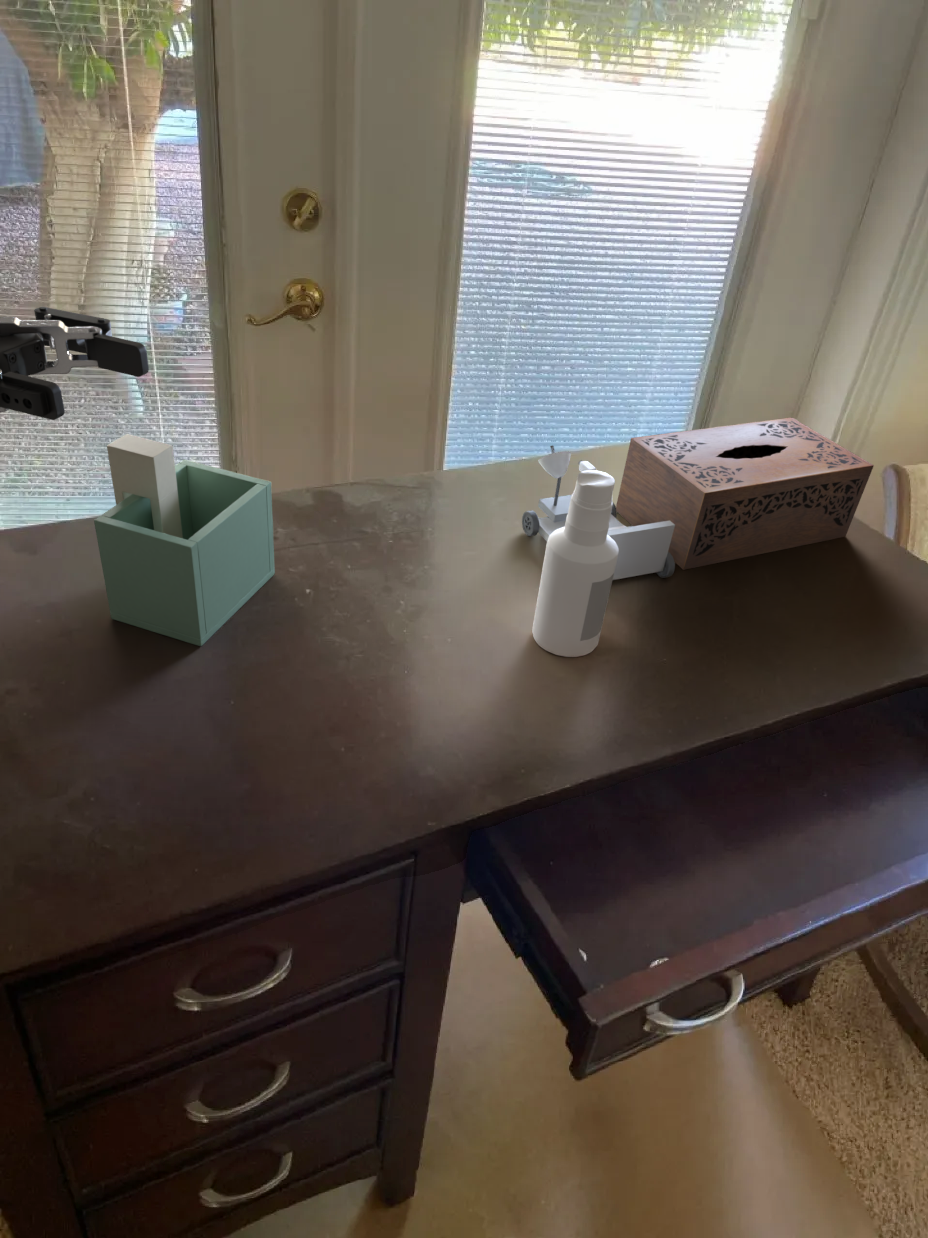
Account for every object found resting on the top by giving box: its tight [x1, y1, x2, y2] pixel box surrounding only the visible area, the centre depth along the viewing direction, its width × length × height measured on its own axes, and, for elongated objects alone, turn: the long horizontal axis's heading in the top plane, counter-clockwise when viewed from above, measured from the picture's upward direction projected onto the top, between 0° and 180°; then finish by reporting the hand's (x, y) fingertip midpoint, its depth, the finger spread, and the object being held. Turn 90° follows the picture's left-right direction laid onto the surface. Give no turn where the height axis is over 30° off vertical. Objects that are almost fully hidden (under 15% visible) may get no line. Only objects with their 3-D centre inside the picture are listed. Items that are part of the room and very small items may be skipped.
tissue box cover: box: [615, 416, 875, 571], centre depth 110 cm, size 26×14×10 cm, turn 115°
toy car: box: [521, 444, 676, 581], centre depth 102 cm, size 18×10×12 cm
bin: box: [93, 458, 276, 647], centre depth 87 cm, size 14×10×11 cm
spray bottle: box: [531, 469, 619, 658], centre depth 85 cm, size 7×7×18 cm
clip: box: [106, 433, 183, 538], centre depth 85 cm, size 5×3×11 cm, turn 71°
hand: (104, 380), depth 58 cm, fingers open, 8 cm apart
